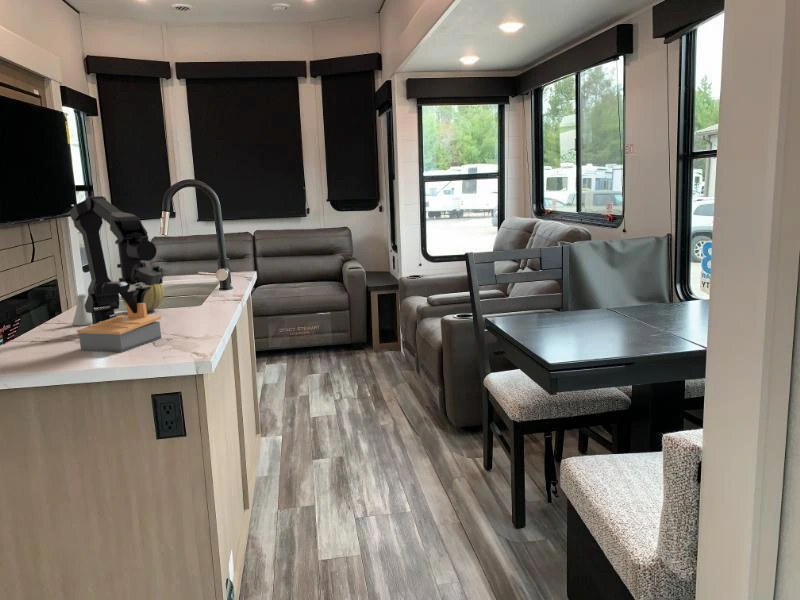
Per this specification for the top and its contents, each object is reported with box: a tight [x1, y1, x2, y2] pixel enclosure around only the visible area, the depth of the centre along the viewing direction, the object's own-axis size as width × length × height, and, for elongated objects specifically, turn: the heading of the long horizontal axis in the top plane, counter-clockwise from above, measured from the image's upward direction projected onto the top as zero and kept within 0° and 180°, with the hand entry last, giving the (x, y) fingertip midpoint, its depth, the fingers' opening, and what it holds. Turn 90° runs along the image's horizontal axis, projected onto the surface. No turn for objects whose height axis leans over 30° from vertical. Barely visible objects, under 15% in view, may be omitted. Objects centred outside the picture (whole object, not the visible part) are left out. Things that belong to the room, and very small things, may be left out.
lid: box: [76, 303, 162, 334], centre depth 179 cm, size 15×17×5 cm
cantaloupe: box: [120, 283, 165, 312], centre depth 229 cm, size 15×15×15 cm
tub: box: [78, 320, 162, 353], centre depth 180 cm, size 14×16×5 cm
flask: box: [71, 293, 93, 327], centre depth 212 cm, size 7×7×10 cm
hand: (137, 312), depth 186 cm, fingers closed on lid
